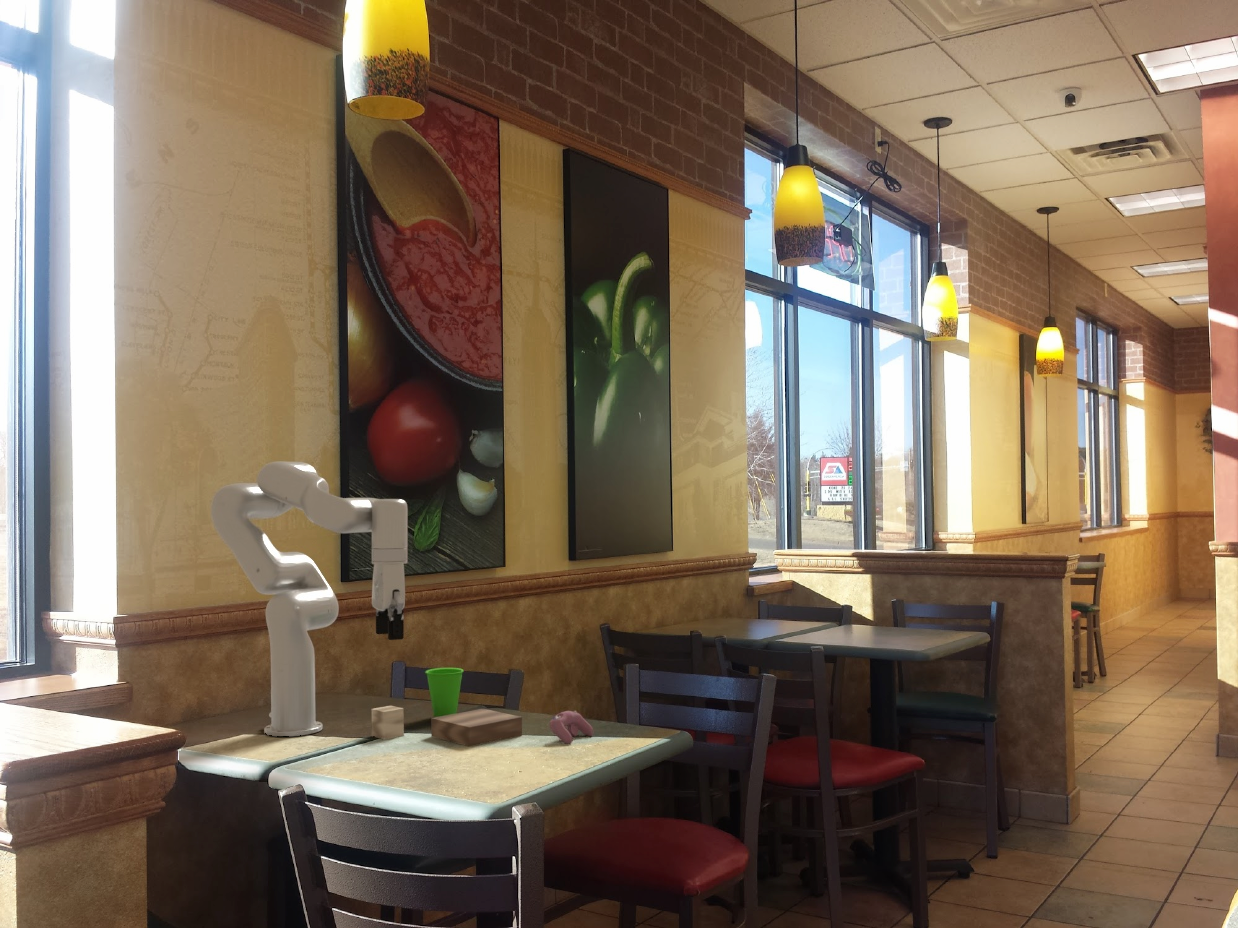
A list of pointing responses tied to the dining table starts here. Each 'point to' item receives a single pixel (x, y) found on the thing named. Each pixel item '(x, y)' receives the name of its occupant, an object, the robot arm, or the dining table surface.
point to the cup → (444, 690)
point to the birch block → (387, 722)
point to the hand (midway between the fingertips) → (389, 636)
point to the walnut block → (476, 727)
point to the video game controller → (569, 726)
